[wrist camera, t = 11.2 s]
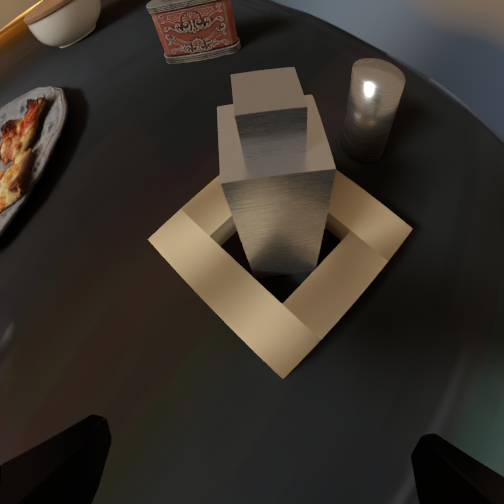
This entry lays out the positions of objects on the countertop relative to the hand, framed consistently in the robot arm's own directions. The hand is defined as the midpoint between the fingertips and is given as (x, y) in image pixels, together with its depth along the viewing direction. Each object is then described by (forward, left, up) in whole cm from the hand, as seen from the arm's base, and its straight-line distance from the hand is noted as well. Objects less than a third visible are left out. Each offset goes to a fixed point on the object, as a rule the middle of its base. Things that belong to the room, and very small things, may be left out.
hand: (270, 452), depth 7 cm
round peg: (+8, -17, -9) cm, 21 cm away
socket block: (+7, -7, -9) cm, 14 cm away
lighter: (+28, -18, -10) cm, 34 cm away
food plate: (+37, +8, -10) cm, 39 cm away
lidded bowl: (+57, -13, -10) cm, 59 cm away
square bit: (+7, -7, -9) cm, 14 cm away
